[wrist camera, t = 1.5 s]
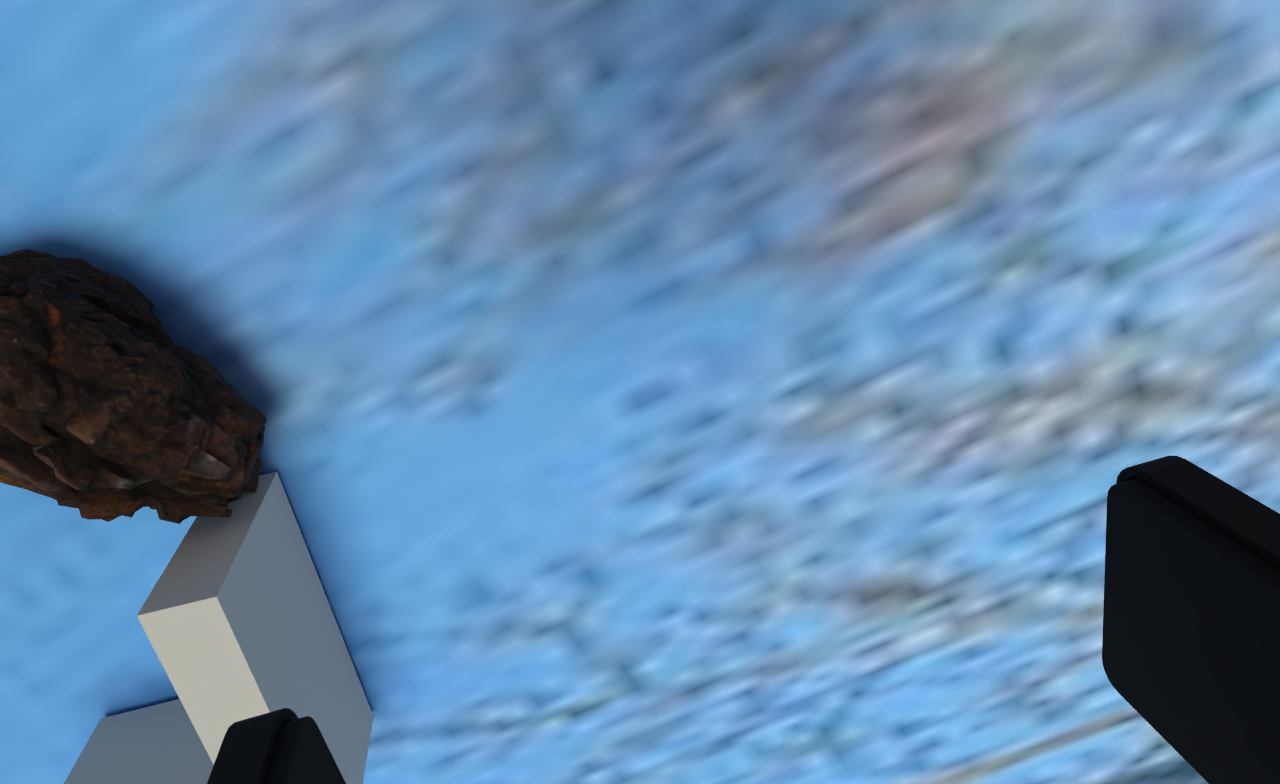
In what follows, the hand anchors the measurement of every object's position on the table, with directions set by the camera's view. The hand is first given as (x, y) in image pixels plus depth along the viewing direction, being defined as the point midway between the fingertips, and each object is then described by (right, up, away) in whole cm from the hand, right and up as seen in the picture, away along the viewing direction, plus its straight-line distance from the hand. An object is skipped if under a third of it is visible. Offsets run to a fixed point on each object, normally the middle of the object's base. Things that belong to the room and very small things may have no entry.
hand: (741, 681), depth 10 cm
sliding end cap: (-17, -5, +20) cm, 27 cm away
